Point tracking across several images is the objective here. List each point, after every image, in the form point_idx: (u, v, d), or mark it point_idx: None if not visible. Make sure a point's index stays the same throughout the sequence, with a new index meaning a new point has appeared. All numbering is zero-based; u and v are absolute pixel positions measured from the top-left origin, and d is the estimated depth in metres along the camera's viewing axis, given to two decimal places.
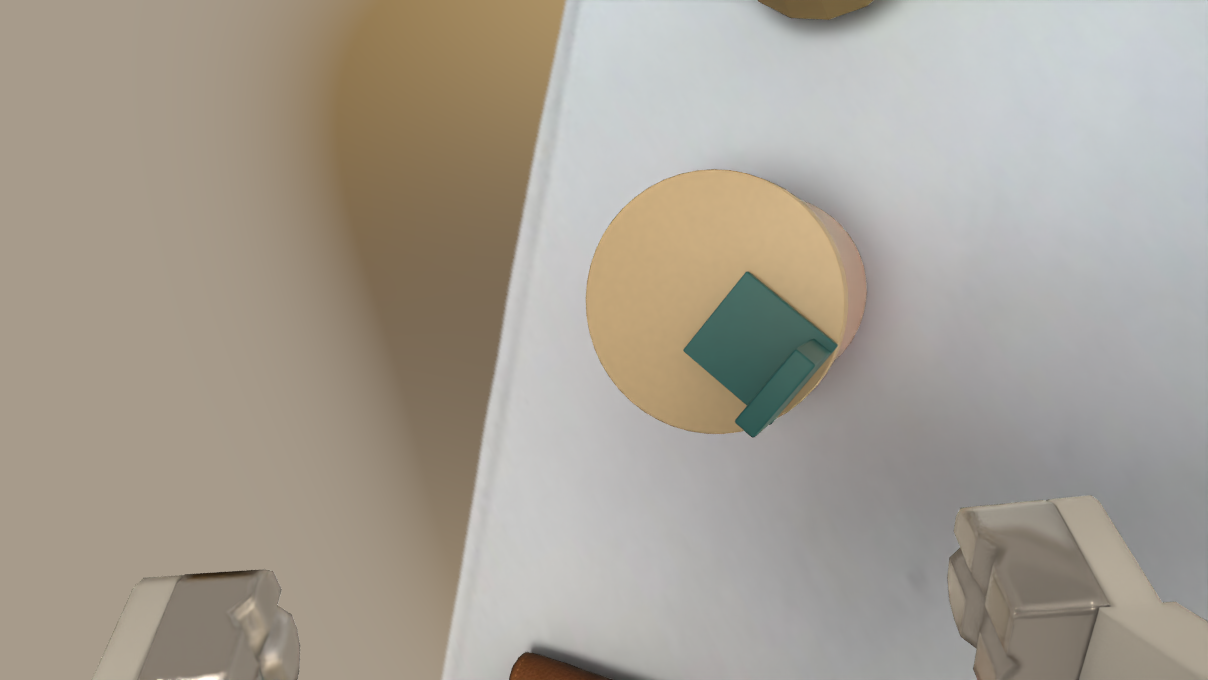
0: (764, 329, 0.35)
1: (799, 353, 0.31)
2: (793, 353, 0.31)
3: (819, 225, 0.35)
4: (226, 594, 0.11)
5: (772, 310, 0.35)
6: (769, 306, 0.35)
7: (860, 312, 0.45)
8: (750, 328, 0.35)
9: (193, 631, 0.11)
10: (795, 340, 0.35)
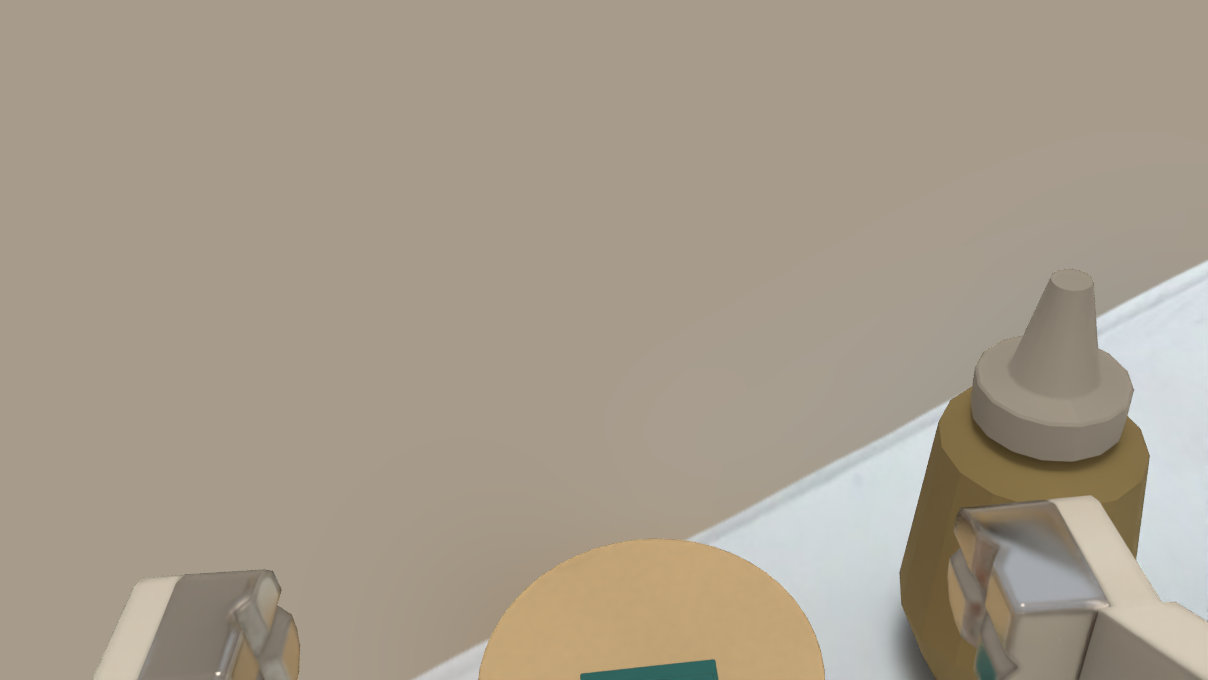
0: None
1: (713, 679, 0.22)
2: (707, 673, 0.22)
3: None
4: (226, 593, 0.11)
5: None
6: None
7: None
8: None
9: (193, 631, 0.11)
10: None
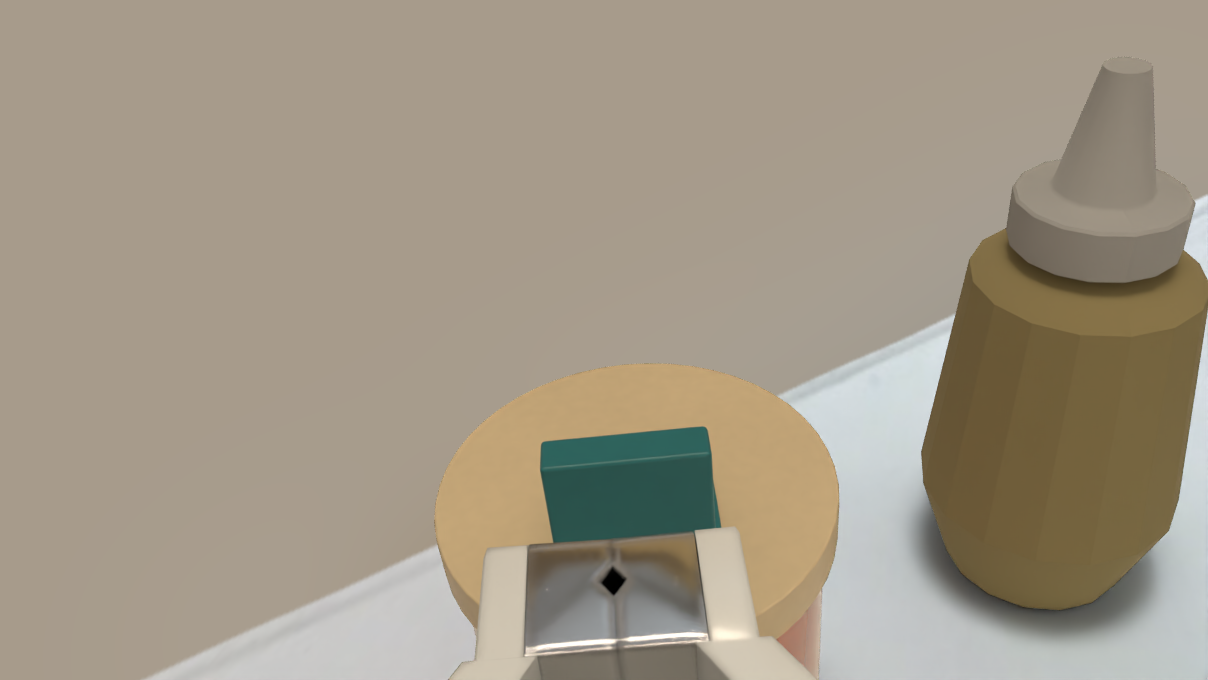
0: None
1: (705, 432, 0.18)
2: None
3: (837, 506, 0.23)
4: (584, 563, 0.11)
5: None
6: None
7: None
8: None
9: (564, 599, 0.11)
10: None
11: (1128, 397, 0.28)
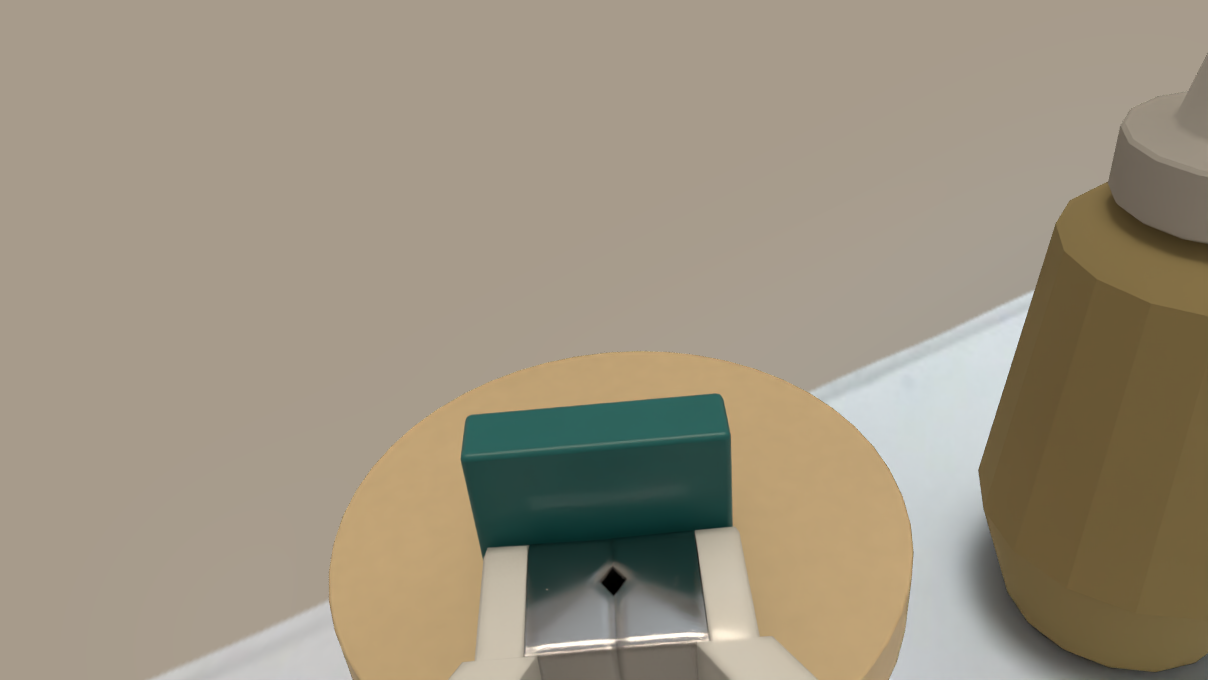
0: None
1: (720, 402, 0.12)
2: (709, 394, 0.12)
3: (910, 556, 0.16)
4: (584, 563, 0.11)
5: None
6: None
7: None
8: None
9: (564, 599, 0.11)
10: None
11: None
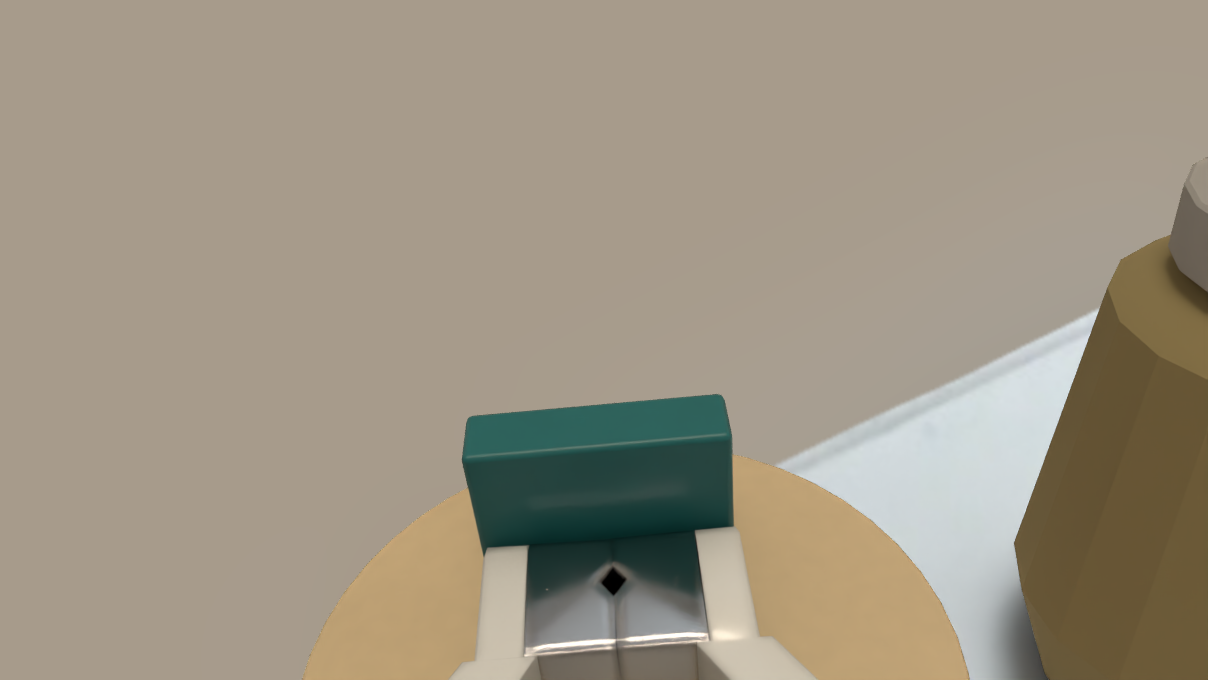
0: None
1: (721, 403, 0.12)
2: None
3: None
4: (584, 563, 0.11)
5: None
6: None
7: None
8: None
9: (564, 599, 0.11)
10: None
11: None
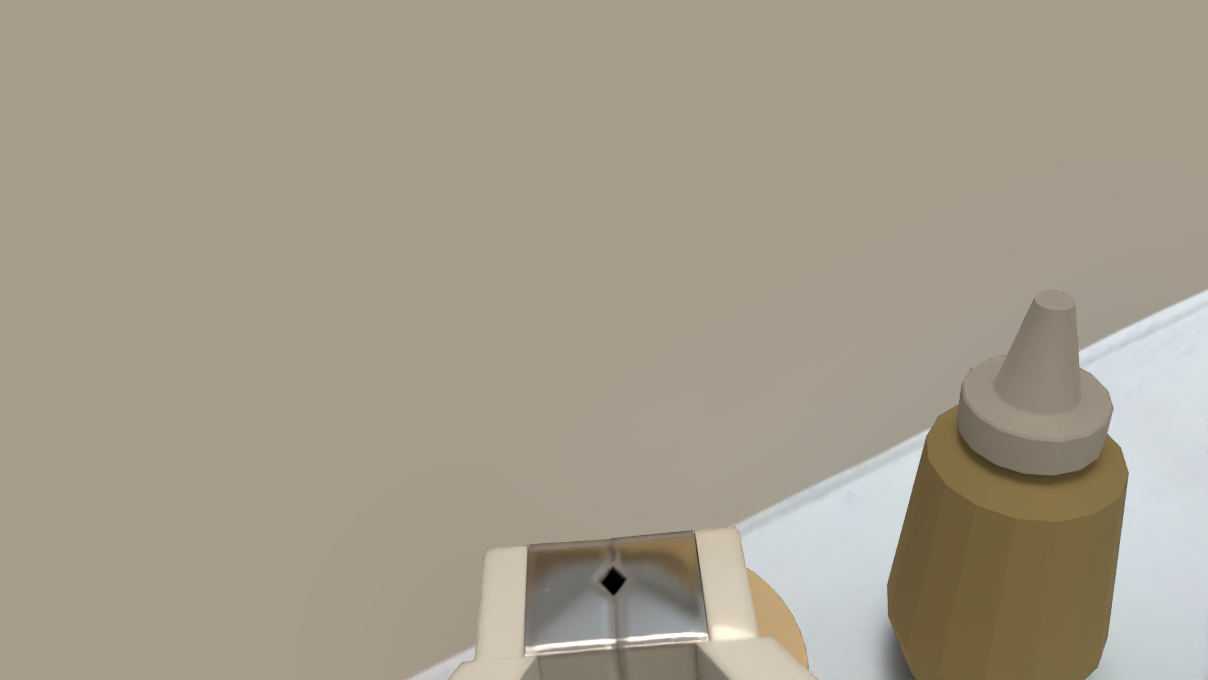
0: None
1: None
2: None
3: None
4: (584, 562, 0.11)
5: None
6: None
7: None
8: None
9: (564, 599, 0.11)
10: None
11: (1057, 567, 0.33)
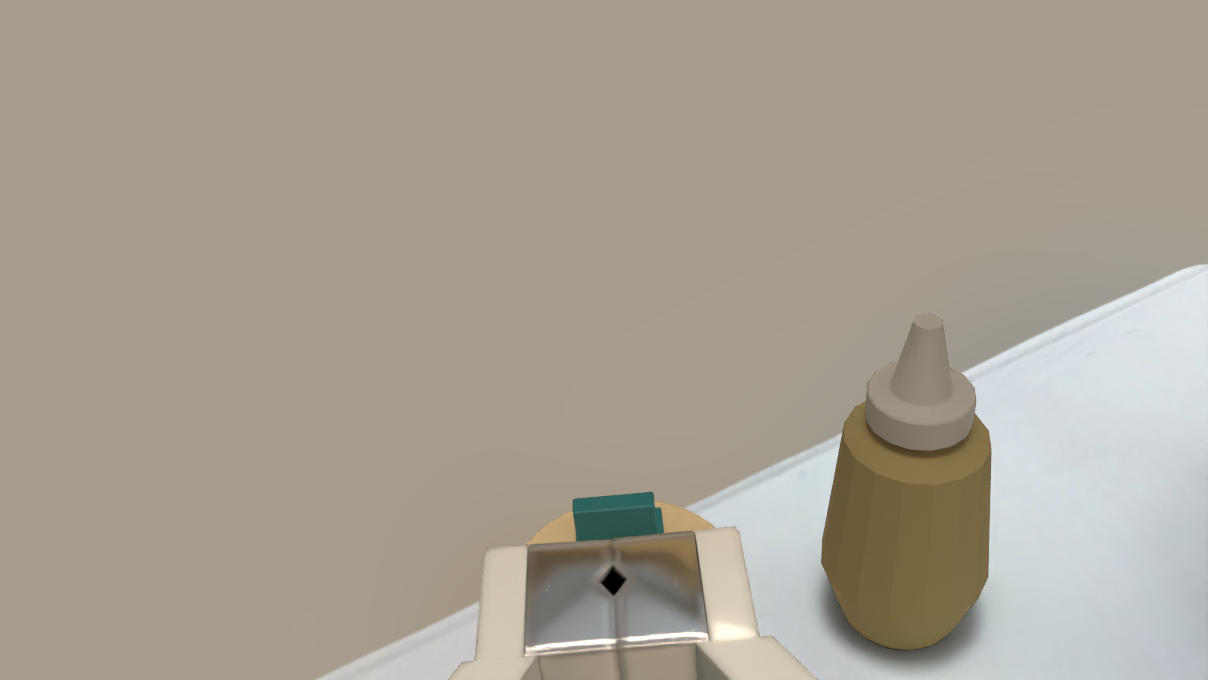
0: None
1: (652, 495, 0.38)
2: (649, 492, 0.38)
3: None
4: (584, 562, 0.11)
5: None
6: None
7: None
8: None
9: (564, 599, 0.11)
10: None
11: (936, 519, 0.45)
